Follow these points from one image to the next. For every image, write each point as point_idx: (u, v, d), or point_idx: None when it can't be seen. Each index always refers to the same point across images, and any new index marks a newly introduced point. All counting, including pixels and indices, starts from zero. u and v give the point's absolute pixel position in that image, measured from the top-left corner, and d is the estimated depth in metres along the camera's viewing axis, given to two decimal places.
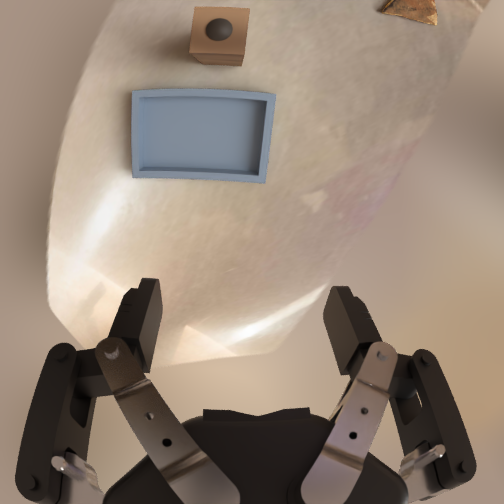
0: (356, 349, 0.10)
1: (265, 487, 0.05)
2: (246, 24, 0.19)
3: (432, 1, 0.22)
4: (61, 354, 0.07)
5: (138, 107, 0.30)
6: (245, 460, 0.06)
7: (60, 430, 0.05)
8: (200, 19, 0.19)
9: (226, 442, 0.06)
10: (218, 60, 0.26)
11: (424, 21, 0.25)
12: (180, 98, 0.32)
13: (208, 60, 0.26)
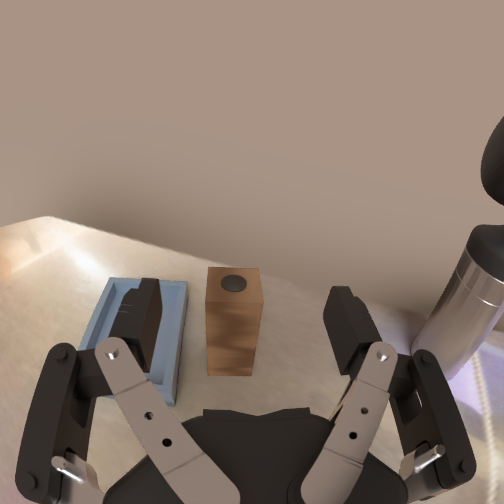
0: (356, 349, 0.10)
1: (265, 487, 0.05)
2: (242, 301, 0.25)
3: None
4: (61, 354, 0.07)
5: (170, 284, 0.39)
6: (245, 460, 0.06)
7: (60, 430, 0.05)
8: (244, 272, 0.28)
9: (226, 442, 0.06)
10: None
11: None
12: (173, 321, 0.36)
13: None
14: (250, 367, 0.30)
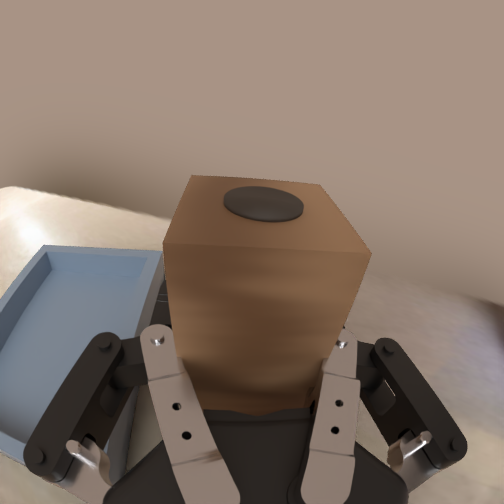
0: None
1: (265, 487, 0.05)
2: (303, 246, 0.07)
3: None
4: (104, 343, 0.08)
5: (131, 255, 0.21)
6: (245, 460, 0.06)
7: (84, 416, 0.06)
8: (288, 187, 0.10)
9: (226, 442, 0.06)
10: None
11: None
12: None
13: None
14: None
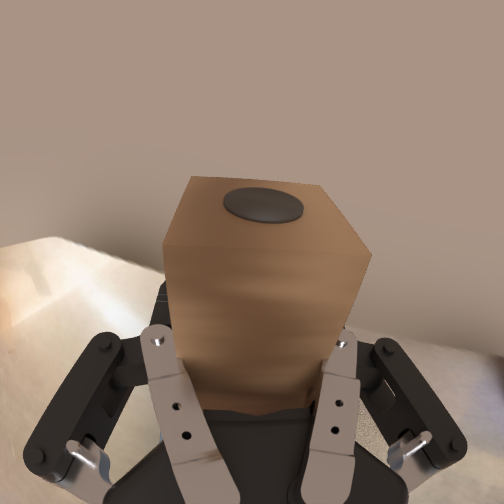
0: None
1: (265, 487, 0.05)
2: (303, 248, 0.07)
3: None
4: (104, 343, 0.08)
5: None
6: (245, 460, 0.06)
7: (84, 416, 0.06)
8: (288, 188, 0.10)
9: (226, 442, 0.06)
10: None
11: None
12: None
13: None
14: None
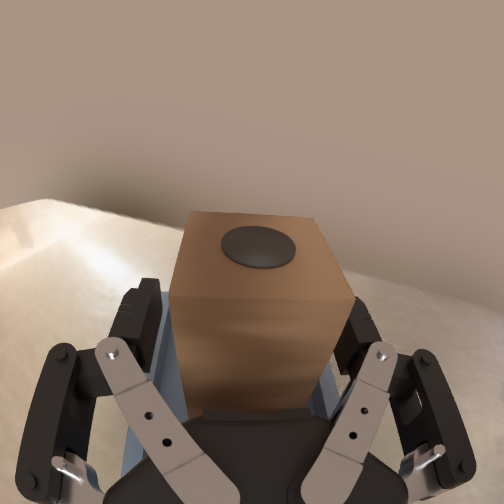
0: (356, 349, 0.10)
1: (265, 487, 0.05)
2: (293, 296, 0.07)
3: None
4: (61, 354, 0.07)
5: None
6: (245, 460, 0.06)
7: (60, 430, 0.05)
8: (282, 223, 0.11)
9: (226, 442, 0.06)
10: None
11: None
12: None
13: None
14: None
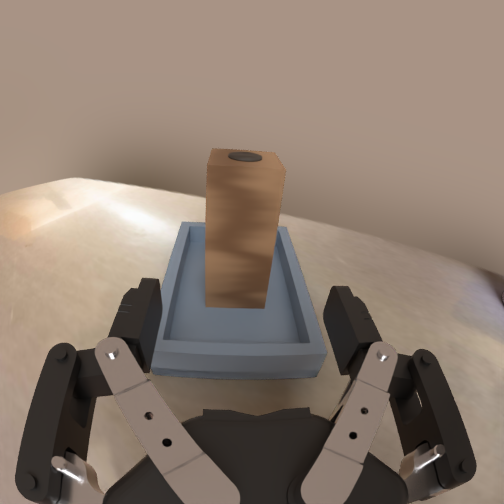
0: (356, 349, 0.10)
1: (265, 487, 0.05)
2: (258, 167, 0.18)
3: None
4: (60, 354, 0.07)
5: None
6: (245, 460, 0.06)
7: (60, 430, 0.05)
8: (257, 153, 0.21)
9: (226, 442, 0.06)
10: None
11: None
12: (279, 271, 0.29)
13: None
14: (264, 292, 0.23)
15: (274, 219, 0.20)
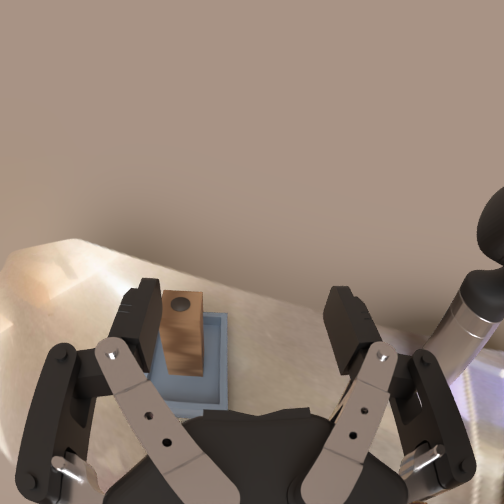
0: (356, 349, 0.10)
1: (265, 487, 0.05)
2: (184, 319, 0.31)
3: None
4: (61, 354, 0.07)
5: (213, 316, 0.46)
6: (245, 460, 0.06)
7: (60, 430, 0.05)
8: (190, 295, 0.35)
9: (226, 442, 0.06)
10: None
11: None
12: (218, 348, 0.42)
13: None
14: (200, 369, 0.37)
15: (198, 340, 0.33)
